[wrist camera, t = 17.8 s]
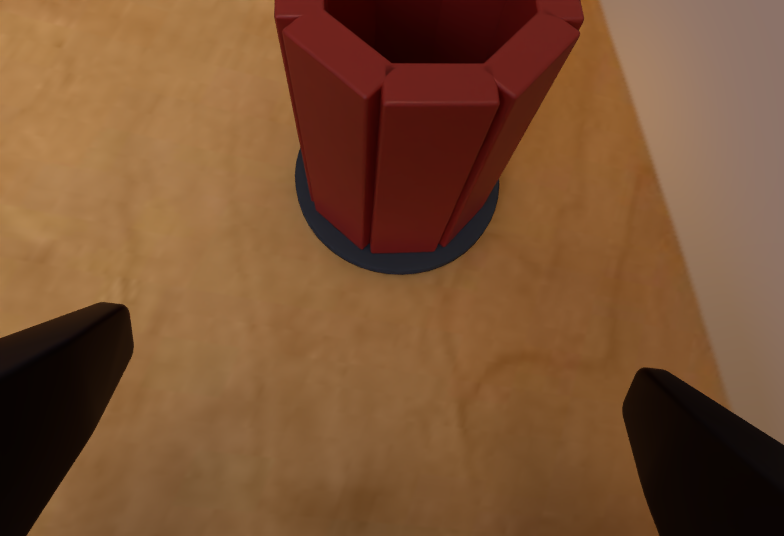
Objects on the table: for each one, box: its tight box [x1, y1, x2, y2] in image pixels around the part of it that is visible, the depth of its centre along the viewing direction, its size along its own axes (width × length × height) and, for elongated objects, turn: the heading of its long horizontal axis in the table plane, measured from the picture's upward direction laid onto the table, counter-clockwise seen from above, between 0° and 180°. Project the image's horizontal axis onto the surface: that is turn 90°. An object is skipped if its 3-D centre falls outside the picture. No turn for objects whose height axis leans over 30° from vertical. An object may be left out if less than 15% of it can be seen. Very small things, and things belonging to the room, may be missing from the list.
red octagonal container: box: [274, 0, 584, 253], centre depth 14 cm, size 6×6×8 cm
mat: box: [295, 148, 499, 275], centre depth 19 cm, size 8×8×1 cm
